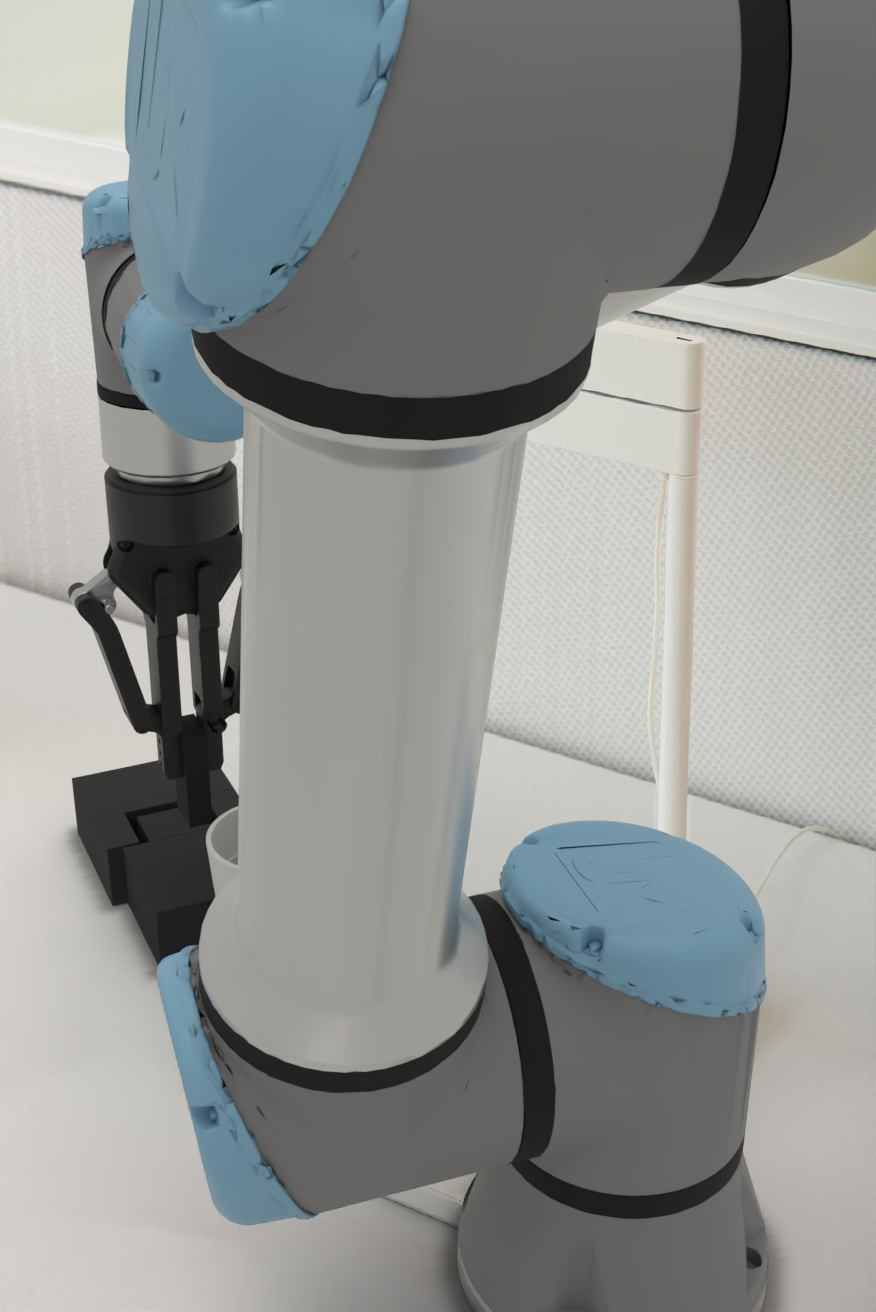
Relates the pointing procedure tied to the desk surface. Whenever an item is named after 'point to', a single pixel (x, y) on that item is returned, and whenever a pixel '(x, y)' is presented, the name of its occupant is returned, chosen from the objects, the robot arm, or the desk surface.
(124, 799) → the notch pad
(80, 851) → the desk surface
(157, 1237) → the desk surface
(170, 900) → the tab pad
